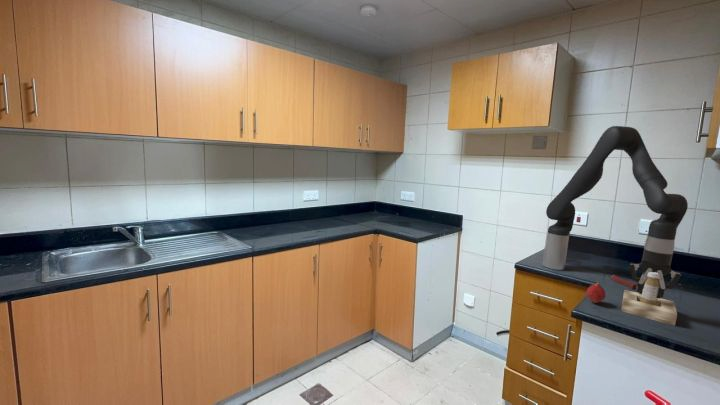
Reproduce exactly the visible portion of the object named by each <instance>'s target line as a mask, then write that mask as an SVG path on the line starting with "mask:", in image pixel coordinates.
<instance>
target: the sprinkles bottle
mask: <svg viewBox="0 0 720 405" xmlns="http://www.w3.org/2000/svg"><path fill="white" fill-rule="evenodd" d="M647 276H648V277H647V278H646V280H645V281H644V283H643V289H642V294H641V299H640V302H643V303H647V304H651V305H656V300H657V297H658V292H659V287H660V282H659V276H660V275H659V274H658V273H656V272H648V275H647ZM660 277H661V276H660Z"/></svg>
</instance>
